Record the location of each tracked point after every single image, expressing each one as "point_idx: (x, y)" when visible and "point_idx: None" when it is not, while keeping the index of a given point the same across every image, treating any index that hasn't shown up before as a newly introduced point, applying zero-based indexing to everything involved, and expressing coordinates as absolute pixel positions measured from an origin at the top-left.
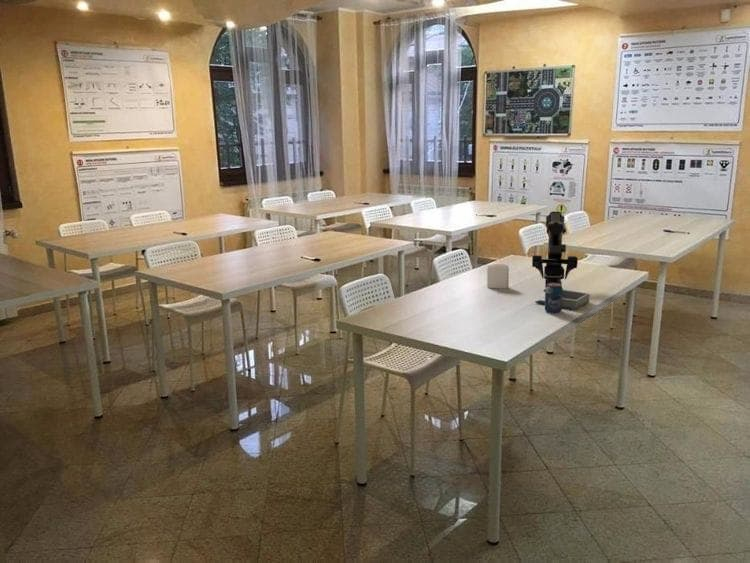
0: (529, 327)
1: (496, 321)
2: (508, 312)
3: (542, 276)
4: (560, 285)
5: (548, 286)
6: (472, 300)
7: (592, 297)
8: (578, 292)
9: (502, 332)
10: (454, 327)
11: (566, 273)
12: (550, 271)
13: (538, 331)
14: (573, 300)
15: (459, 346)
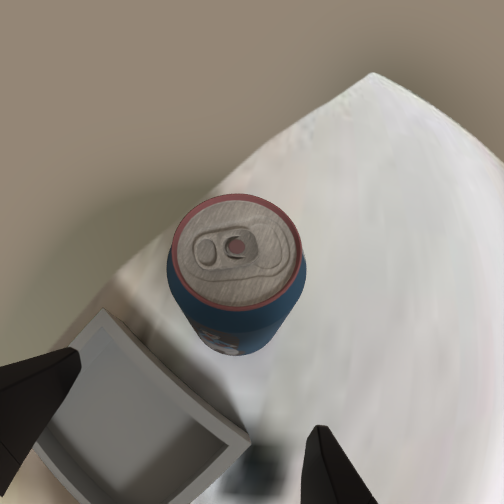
0: (352, 161)
1: (442, 222)
2: (424, 315)
3: (330, 430)
4: (193, 209)
5: (292, 229)
6: (500, 448)
7: None
8: (46, 457)
9: (409, 149)
10: (494, 201)
11: (33, 365)
12: None
13: (327, 134)
14: (110, 324)
15: (448, 122)
